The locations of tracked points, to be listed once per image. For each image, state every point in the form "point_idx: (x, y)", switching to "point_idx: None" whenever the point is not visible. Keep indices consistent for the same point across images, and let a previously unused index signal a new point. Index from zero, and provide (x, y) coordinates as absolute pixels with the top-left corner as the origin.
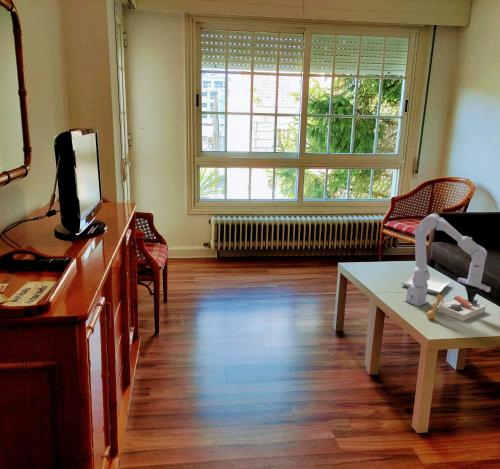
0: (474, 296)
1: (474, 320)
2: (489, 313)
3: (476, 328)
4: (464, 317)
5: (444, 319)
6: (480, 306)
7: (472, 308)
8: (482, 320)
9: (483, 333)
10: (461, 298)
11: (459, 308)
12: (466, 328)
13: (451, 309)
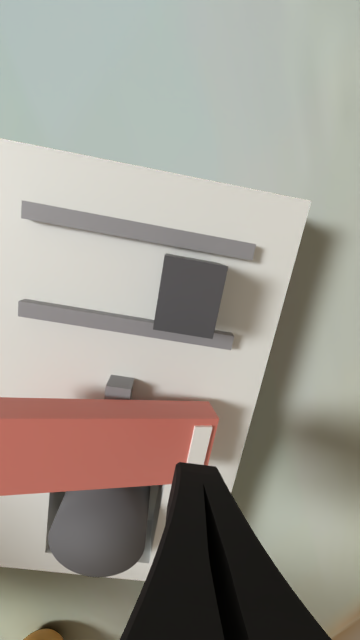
0: (246, 541)
1: (258, 463)
2: (326, 213)
3: (300, 562)
4: None
5: (107, 586)
6: (264, 275)
7: (214, 402)
8: (305, 419)
9: (347, 590)
10: (56, 435)
11: (139, 552)
12: None
13: None
